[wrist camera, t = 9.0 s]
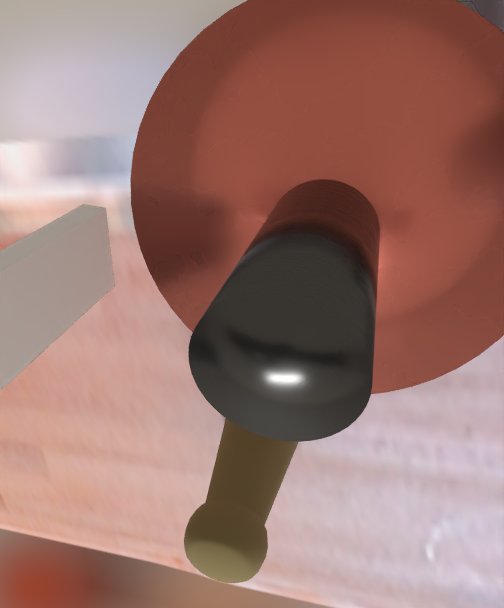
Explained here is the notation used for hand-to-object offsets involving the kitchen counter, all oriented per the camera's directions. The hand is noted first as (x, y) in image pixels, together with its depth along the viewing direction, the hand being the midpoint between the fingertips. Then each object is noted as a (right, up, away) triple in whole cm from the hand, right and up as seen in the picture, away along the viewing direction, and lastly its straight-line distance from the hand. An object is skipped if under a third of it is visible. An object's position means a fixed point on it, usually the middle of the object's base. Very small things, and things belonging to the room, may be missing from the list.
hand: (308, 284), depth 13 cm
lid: (+2, +3, +6) cm, 7 cm away
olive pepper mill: (-1, -11, +23) cm, 25 cm away
